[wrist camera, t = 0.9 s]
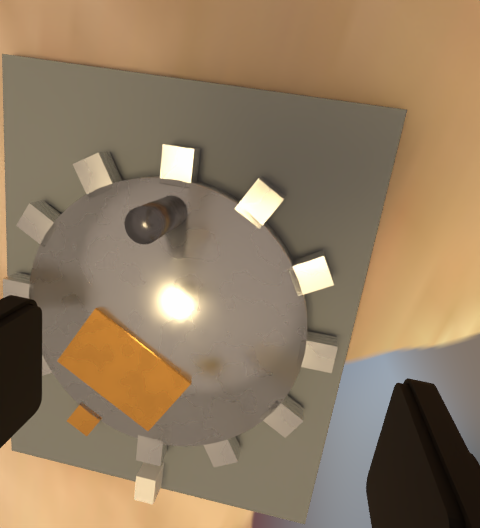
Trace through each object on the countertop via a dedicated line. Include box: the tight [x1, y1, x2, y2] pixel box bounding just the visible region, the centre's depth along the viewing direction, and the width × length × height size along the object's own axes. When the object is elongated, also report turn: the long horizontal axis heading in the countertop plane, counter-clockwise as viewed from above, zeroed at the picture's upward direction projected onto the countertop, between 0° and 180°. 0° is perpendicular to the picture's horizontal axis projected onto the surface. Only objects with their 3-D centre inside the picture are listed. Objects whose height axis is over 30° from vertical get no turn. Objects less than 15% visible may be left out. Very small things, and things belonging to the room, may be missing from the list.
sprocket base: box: [2, 54, 407, 524], centre depth 30 cm, size 32×26×3 cm
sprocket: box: [3, 144, 338, 467], centre depth 27 cm, size 24×24×6 cm
